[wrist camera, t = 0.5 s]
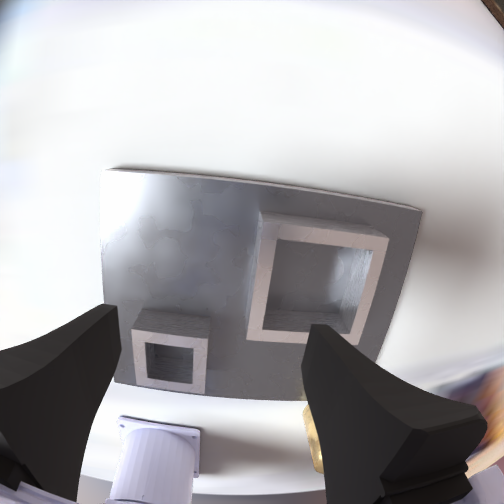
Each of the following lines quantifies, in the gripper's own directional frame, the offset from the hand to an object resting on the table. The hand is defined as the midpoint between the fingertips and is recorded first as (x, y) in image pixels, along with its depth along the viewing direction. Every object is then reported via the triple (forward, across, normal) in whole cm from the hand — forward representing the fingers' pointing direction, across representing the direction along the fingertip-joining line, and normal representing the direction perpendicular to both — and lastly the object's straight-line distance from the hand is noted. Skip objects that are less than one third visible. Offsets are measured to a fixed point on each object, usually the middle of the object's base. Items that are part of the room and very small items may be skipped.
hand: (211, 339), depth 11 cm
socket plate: (+10, -2, +3) cm, 11 cm away
